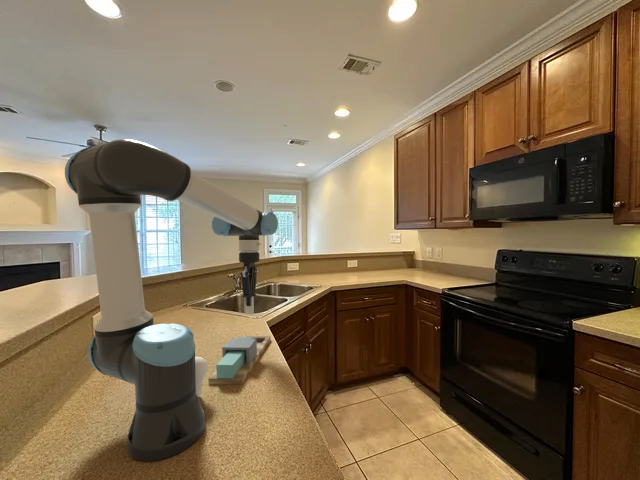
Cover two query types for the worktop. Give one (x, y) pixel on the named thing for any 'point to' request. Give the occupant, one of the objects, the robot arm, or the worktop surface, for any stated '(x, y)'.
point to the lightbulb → (200, 373)
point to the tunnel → (242, 347)
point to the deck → (245, 369)
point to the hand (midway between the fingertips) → (249, 313)
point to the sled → (231, 363)
